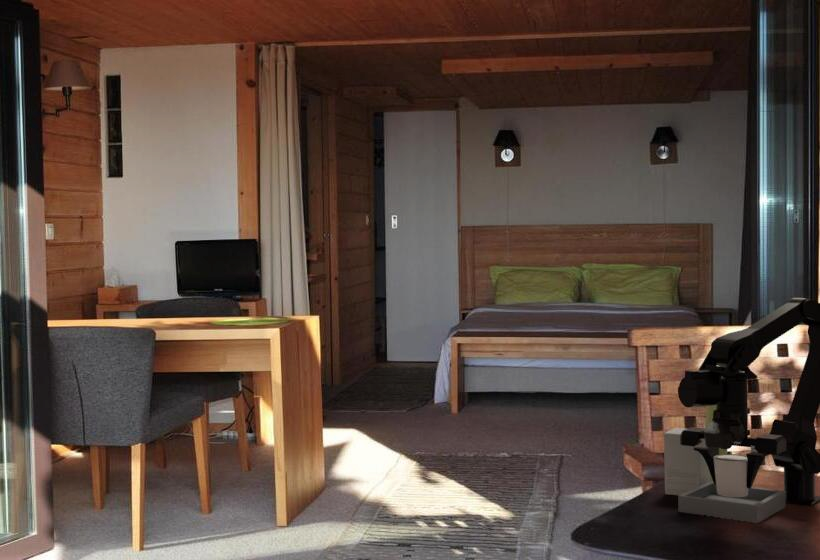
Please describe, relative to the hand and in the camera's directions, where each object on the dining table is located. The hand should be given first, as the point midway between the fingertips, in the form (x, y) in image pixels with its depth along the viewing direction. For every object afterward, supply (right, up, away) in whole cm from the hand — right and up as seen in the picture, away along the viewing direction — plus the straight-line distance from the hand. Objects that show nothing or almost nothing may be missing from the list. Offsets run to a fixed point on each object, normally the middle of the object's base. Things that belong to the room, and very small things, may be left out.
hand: (732, 485), depth 200 cm
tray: (0, -4, 0) cm, 4 cm away
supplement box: (-5, -4, +14) cm, 16 cm away
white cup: (0, -2, 0) cm, 2 cm away
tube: (+4, -4, +25) cm, 25 cm away
